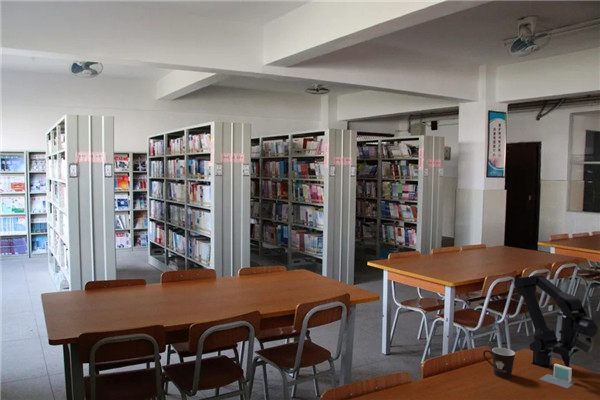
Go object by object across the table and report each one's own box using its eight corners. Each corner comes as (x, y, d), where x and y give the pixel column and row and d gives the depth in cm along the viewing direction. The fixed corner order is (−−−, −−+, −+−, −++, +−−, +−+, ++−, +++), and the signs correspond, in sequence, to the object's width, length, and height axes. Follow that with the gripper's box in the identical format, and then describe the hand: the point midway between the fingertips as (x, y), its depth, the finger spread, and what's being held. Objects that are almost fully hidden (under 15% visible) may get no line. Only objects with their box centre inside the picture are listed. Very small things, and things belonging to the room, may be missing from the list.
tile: (553, 378, 190) (553, 364, 190) (554, 376, 191) (555, 363, 191) (569, 383, 185) (570, 369, 185) (571, 381, 187) (571, 368, 186)
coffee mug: (518, 378, 190) (519, 354, 189) (502, 381, 187) (503, 356, 186) (496, 367, 201) (497, 344, 200) (480, 370, 197) (481, 346, 197)
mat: (539, 380, 189) (539, 379, 189) (547, 374, 194) (547, 373, 194) (567, 389, 181) (567, 388, 181) (575, 383, 186) (575, 382, 186)
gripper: (583, 339, 178) (581, 379, 179) (599, 329, 191) (597, 367, 192) (552, 331, 187) (550, 370, 188) (569, 322, 199) (567, 358, 200)
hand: (567, 366), depth 192 cm, fingers closed
